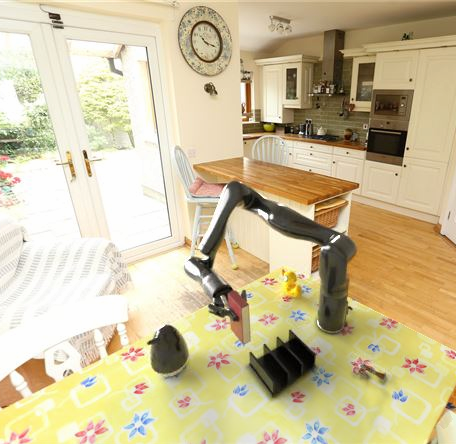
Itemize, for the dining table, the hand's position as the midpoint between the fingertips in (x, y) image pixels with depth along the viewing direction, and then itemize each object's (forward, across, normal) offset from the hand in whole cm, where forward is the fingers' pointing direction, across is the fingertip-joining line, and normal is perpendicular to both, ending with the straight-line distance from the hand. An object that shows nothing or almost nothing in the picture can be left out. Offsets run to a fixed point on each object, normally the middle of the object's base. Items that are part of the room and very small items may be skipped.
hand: (242, 317), depth 85 cm
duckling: (-13, +29, +13) cm, 34 cm away
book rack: (+12, +6, +13) cm, 19 cm away
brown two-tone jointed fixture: (+30, +24, +14) cm, 41 cm away
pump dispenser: (-7, -20, +13) cm, 25 cm away
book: (-2, 0, +8) cm, 9 cm away
